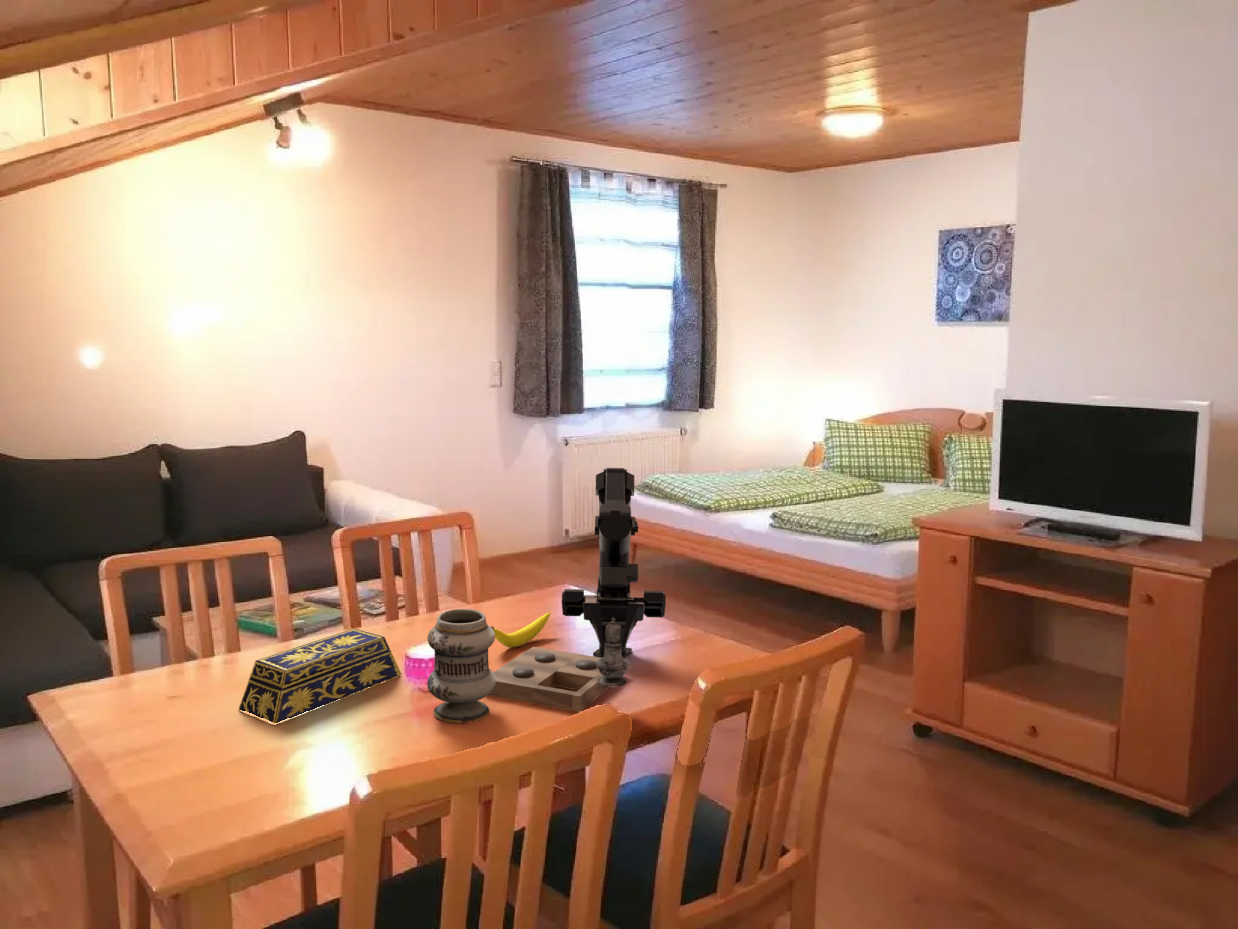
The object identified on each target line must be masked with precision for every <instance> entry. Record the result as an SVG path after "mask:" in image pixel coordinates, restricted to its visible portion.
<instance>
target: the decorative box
mask: <svg viewBox="0 0 1238 929" xmlns="http://www.w3.org/2000/svg"><path fill="white" fill-rule="evenodd" d="M400 675H402V672H401V670H400V668H399V665H398V663H397V662H396V659H395V657H394V655H393V653H392V650H391V648H390V646H389V644H388V642H387V639H386V637H385V636H383V635H380V634H375V633H373V632H369V631H368V632H367V631H365V630H361V629H357V628H352V629H348V630H346V631H343V632H339V633H336V634H333V635H331V636H326V637H324V638H321V639H318V640H315V641H312V642H309V643H305V644H303V645H299V646H295V647H293V648H291V649H287V650H285V651H284V650H283V651H281V652H278V653H276V654H275V653H274V654H272V655H269V656H266V657H262V658H260V659H257V660H255V662H254V664H253V667H252V670H251V672H250V675H249V678H248V682H247V684H246V687H245V690H244V692H243V695H242V698H241V700H240V703H239V706H238V709H239V710H242V711H247V712H249V713H252V714H254V715H256V716H258V717H260V718H265V719H267V720H269V721H271V722H273V723H278V722H280V721H282V720H285V719H287V718H292V717H294V716H297V715H299V714H302V713H304V712H306V711H310V710H313V709H315V708H317V707H320V706H322V705H326V704H329V703H331V702H334V701H336V700H338V699H342V698H344V697H347V696H349V695H351V694H353V693H357V692H359V691H362V690H364V689H366V688H368V687H372V688H374V687H376V686H375V685H377V686H379V685H381V684H380V683H381V682H384V681H387V682H389V680H390V681H392V680H394V679H393V678H395V677H397V678H399V677H398V676H400ZM402 676H403V675H402ZM400 677H401V676H400ZM391 679H392V680H391ZM395 679H396V678H395ZM384 683H385V682H384ZM378 684H379V685H378ZM373 686H374V687H373ZM364 691H365V690H364ZM362 692H363V691H362ZM359 693H360V692H359ZM357 694H358V693H357ZM349 697H350V696H349ZM347 698H348V697H347ZM344 699H345V698H344ZM342 700H343V699H342ZM334 703H335V702H334ZM331 704H332V703H331ZM329 705H330V704H329ZM326 706H327V705H326Z"/></svg>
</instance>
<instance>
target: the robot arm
mask: <svg viewBox="0 0 1238 929" xmlns="http://www.w3.org/2000/svg"><path fill="white" fill-rule="evenodd" d="M595 496H598V515H595V516H594V517H595V518H594V535H595V536H598V540H599V541H598V543H599V544H598V545H599V551H598V552H599V556H598V579H597V588H596V595H595V594H593V595H592V594H585V590H584V588H583V589H580V588H578V589H575V588H574V589H571V588H570V589H569V588H565V589H564V590H563V591H562V592H561V610H562V616H565V617H581V616H582V615H583V619H584V621H589V623H590V625H591V626H592V629H593V630H594V632H595V635H596V638H597V640H598V649H596V650H595V651H593V652H592V655H593V656H594V657H600V658H603V657H604V651H605V644H603V641H604V640H605V626H606V624H607V623H609V622H611V621H612V620H611V619H612V618H613V617H614V618H615V621H616V622H617V623H619V624H620V625H621V640H622V641H623V644H622V645H621V654H622V658H624V659H625V657H626V656H628V655H629V654H630V653H631V652H633V648H632V647H627V644H628V641H629V639H630V637H631V634H632V631H634V628H635V627H636V626H637V623H638V622H642V621H644V616H645V617H646V618H657V619H658V618H663V617H665V615H666V606H667V604H666V603H667V601H666V598H667V597H666V593H665V592H664V591H663V590H652V589H651V590H646V589H645V590H643V597H636V596H635V597H631V583H639V582H638V581H639V563H631V562H630V561H631V560H630V557H631V556H630V553H631V552H630V551H631V550H630V549H631V539H632V538H631V537H632V536H635V535H636V533H639V523H638V522H637V520H636V518H635V516H632V507H631V502H632V501H631V500H632V497H634V496H635V475H634V474H632V473H630V472H628V469H627V468H626V469H625V468H624V467H606V468H603V471H602V472H600V473H597V474H596V475H595Z"/></svg>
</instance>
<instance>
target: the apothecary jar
mask: <svg viewBox="0 0 1238 929" xmlns="http://www.w3.org/2000/svg"><path fill="white" fill-rule="evenodd" d="M487 622H488V621H487V619H486V615H485V613H484V612H482V611H480V610H477V609H472V608H455V609H449V610H445V611H442V612H441V613H440V614H438V615H437V618H436V623H435V625H434V626H433V627H432V628H431V629H430V630H429V633H428V634H427V639H426V640H427V643H428V645H429V647H430V648H431V649H432V650H433V651H434V665H433V666H434V668H433V671H431V673H430V674H429V676H428V677H427V681H426V684H427V685H426V686H427V689H428V691H429V693H430V694H431V695H432V696H433V697H435V698H436V699H438V700H440V701H443V702H442V703H440V704H439V705H437V706H436V707H434V710H433V716H434V717H435V718H436V719H437V720H439V721H442V722H445V723H450V724H464V723H466V722H477V721H480V720H483V719H485V718H486V717H488V715H489V714H490V708H489V706H488V705H487V704H485V702H482V701H481V700H482V699H484V698H486V697H487V696H490V695H489V694H490V693H491V691H492V690H493V689H494V687H495V684H496V678H495V675H494V673H493V672H494V671H493V670H491V669H490V668H489V648H490V647H492V645H493V644H494V642H495V640H496V638H495V633H494V631H493V629H492V628H491V627H492V626H491V625H489V624H488V623H487Z"/></svg>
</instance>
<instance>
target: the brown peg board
mask: <svg viewBox="0 0 1238 929" xmlns="http://www.w3.org/2000/svg"><path fill="white" fill-rule="evenodd" d="M601 658H602V657H600V656H594V655H593V656H591V655H587V654H582V653H580V654H579V653H573V652H568V651H563V650H562V651H561V650H555V649H551V648H550V649H549V648H544V647H539V646H538V647H537V646H532V647H531V648H528V650H526V651H525V652H523V653H521V654H520V655H518V656H516V657H515V658H513V659H512V660H510V661H508V662H507V663H506V664H504V665H502V666H501V667H500V668H498V669H496V670H495V671H492V672H493V673H494V675H495V678H496V684H495V687H494V689H493V690H492V691H491V693H490V694H489V695H488V696H491V697H496V698H503V699H508V700H512V701H519V702H523V703H529V704H534V705H539V706H545V707H551V708H556V709H560V710H567V711H573V712H578V713H580V712H579V711H581V712H582V711H583V710H584V709H585V708H586V707H588V706H589V705H591V704H592V703H593V702H594V701H596V699H598V698H599V697H600V696H601V695H603V693H604V692H606V691H607V690H608V689H609V688H610V687H606V686H602V685H600V684H599V683H598V679H599V678H601V677H602V676H603V675H602V674H601V673H600V672H599V669H598V665H597V664H596V662H597V661H598V660H599V659H601ZM556 687H560V688H556ZM562 688H566V689H571V690H566V689H562ZM572 690H576V691H572Z"/></svg>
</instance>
